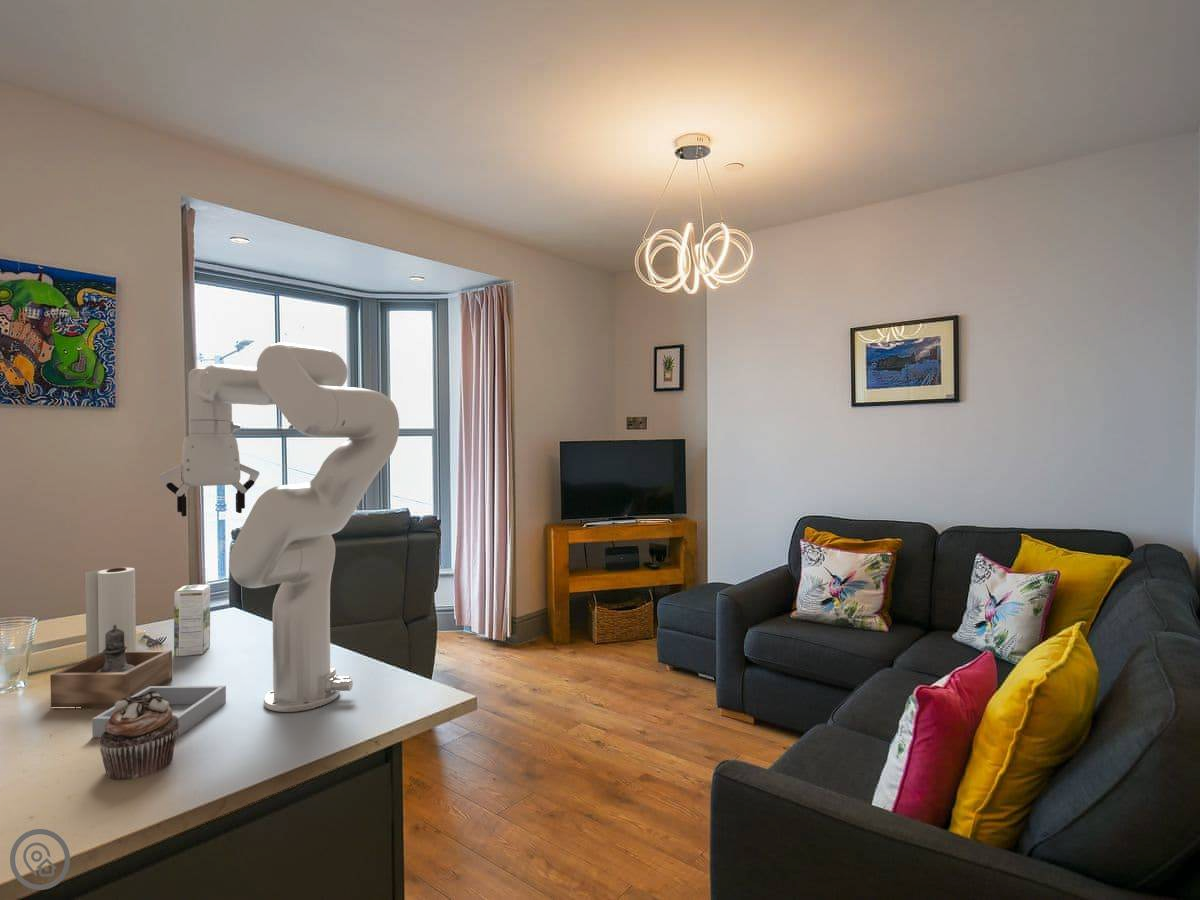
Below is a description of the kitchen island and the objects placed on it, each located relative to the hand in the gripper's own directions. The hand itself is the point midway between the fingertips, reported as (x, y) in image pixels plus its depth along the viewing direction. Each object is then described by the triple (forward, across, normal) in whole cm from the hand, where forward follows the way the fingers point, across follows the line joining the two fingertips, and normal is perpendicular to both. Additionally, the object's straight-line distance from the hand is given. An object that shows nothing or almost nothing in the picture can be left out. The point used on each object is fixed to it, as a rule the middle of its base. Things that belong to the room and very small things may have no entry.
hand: (211, 514), depth 132 cm
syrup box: (+32, +2, -18) cm, 37 cm away
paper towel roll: (+32, +16, -10) cm, 38 cm away
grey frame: (+32, +9, +20) cm, 39 cm away
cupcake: (+33, +13, +37) cm, 51 cm away
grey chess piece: (+32, +16, +2) cm, 35 cm away
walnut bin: (+32, +16, +2) cm, 36 cm away
